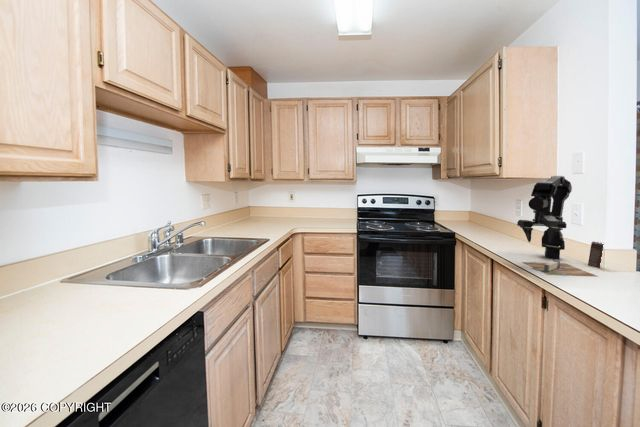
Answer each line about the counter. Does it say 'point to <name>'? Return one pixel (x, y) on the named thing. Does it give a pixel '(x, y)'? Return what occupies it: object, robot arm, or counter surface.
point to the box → (595, 254)
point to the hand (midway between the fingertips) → (539, 242)
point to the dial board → (560, 269)
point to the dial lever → (552, 265)
